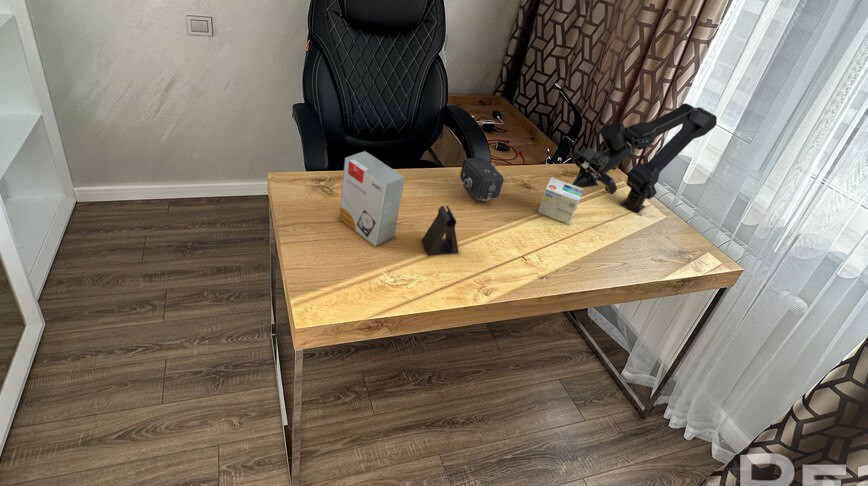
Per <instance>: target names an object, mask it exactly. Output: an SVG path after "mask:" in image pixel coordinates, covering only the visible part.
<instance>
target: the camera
mask: <svg viewBox="0 0 868 486" xmlns="http://www.w3.org/2000/svg"><path fill="white" fill-rule="evenodd" d="M459 178H460V180H461V182H462V183H463V186H462V187H463V188H464V189H465V190H466V191H467V193H468V194H469V195H470V196H471V197H472V199H473V200H474V201H475V202H489V201H493V200H495V199H499V197H500V194H501V191H502V187H503V184H504V179H505V178H504V177H503V175H502V174H501V173H500V172H499V171H498V170H497V168H496V164H495V163H493V162H492V163H491V162H490V161H489V160H488V159H483V157H476V158H475V157H472V158H464V159H463V161H462V166H461V170H460V174H459Z"/></svg>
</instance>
